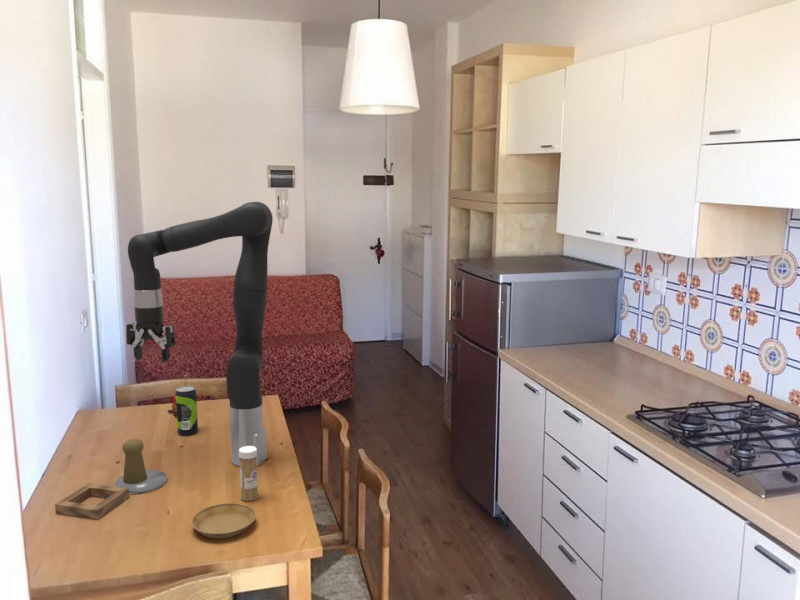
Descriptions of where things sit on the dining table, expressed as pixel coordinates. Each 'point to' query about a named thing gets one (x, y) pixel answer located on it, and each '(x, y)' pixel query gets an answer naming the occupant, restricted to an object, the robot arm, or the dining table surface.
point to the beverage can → (186, 410)
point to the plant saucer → (223, 520)
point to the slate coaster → (144, 482)
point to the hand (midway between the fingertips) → (152, 360)
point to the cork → (134, 462)
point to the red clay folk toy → (175, 400)
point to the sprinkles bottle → (248, 473)
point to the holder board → (75, 508)
